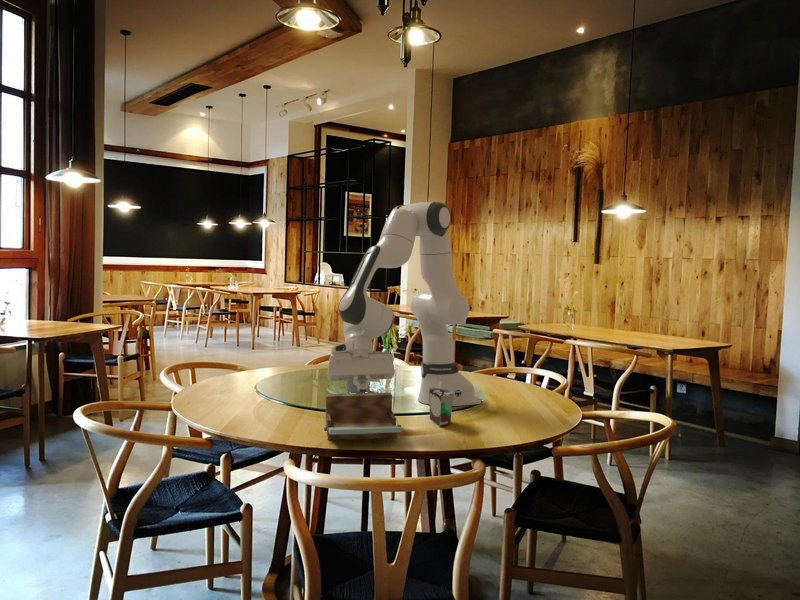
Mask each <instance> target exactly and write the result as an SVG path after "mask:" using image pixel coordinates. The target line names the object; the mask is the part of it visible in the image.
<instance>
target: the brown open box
mask: <svg viewBox="0 0 800 600" xmlns="http://www.w3.org/2000/svg"><path fill="white" fill-rule="evenodd" d="M366 426H399V427H401V428H402V425H401V424H397V418H396V416H395V414H394V412H393V394H392V392H369V393H356V394H350V393H328V394H327V393H326V394H325V427H323V428H324V429H323V431H324V432H326V431H327V432H326V438H327V437H328V438H327V440H328V439H344V440H364V439H365V440H369V439H396V438H398V432H392V433H377V434H365V435H354V434H333V435H330V434H329V428H334V427H366Z"/></svg>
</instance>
